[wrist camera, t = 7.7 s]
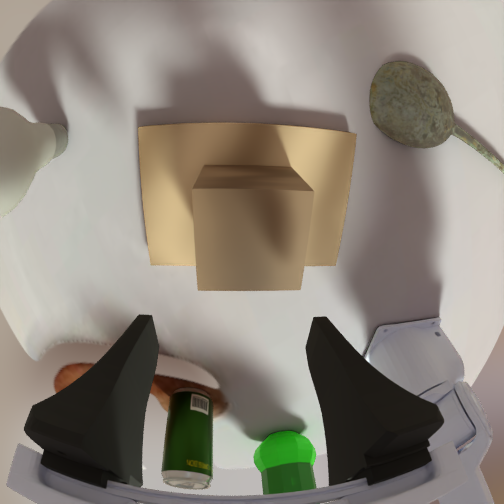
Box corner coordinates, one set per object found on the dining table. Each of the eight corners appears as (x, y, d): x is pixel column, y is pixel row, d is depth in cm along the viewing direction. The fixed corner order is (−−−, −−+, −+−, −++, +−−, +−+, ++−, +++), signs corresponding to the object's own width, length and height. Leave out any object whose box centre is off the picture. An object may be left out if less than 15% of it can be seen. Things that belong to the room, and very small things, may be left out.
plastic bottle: (323, 423, 37) (353, 559, 15) (297, 447, 42) (315, 562, 20) (263, 423, 35) (280, 576, 13) (244, 446, 40) (253, 571, 18)
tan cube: (291, 166, 17) (314, 191, 12) (284, 243, 20) (300, 290, 15) (204, 164, 17) (192, 188, 12) (205, 243, 19) (197, 290, 15)
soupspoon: (372, 47, 15) (349, 120, 18) (393, 41, 12) (366, 125, 15) (520, 160, 18) (502, 209, 22) (540, 170, 15) (520, 222, 19)
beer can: (175, 381, 29) (165, 475, 18) (219, 392, 30) (220, 483, 20) (166, 401, 31) (156, 483, 21) (205, 410, 33) (204, 491, 22)
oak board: (349, 132, 17) (356, 134, 16) (330, 257, 22) (335, 265, 21) (143, 125, 16) (138, 127, 15) (154, 257, 21) (150, 265, 20)
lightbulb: (45, 187, 17) (-48, 254, 8) (26, 120, 14) (-79, 154, 5) (103, 160, 17) (1, 221, 8) (82, 85, 14) (-33, 89, 5)
